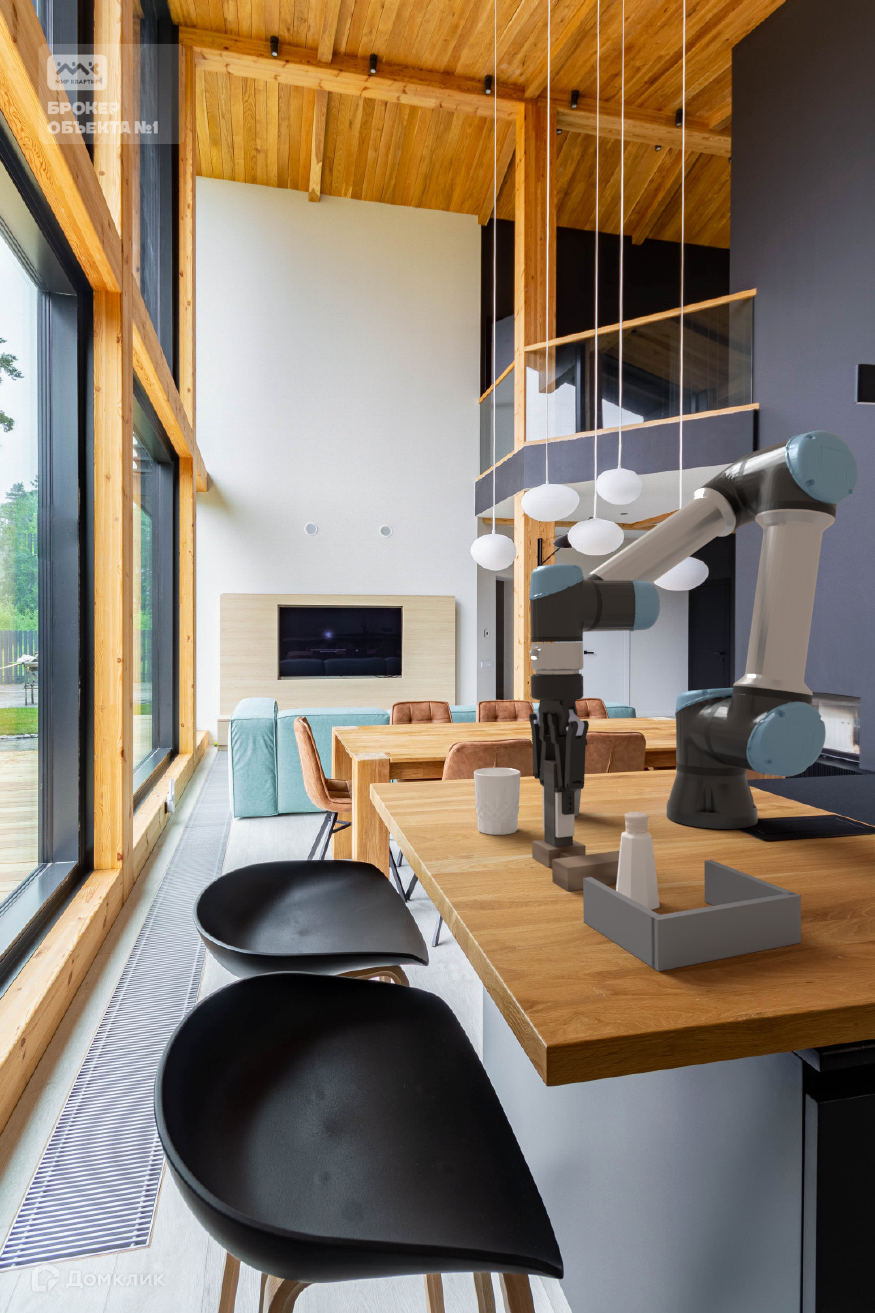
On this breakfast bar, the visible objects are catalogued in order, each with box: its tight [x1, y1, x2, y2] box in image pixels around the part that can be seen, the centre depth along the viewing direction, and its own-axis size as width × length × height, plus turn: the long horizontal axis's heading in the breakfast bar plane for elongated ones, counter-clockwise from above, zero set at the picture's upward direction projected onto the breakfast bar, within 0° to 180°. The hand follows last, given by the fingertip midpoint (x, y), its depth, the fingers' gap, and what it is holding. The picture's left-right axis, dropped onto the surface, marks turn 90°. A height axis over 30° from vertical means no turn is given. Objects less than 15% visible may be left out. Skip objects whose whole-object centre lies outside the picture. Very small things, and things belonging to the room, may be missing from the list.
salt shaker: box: [615, 811, 661, 911], centre depth 88 cm, size 5×5×11 cm
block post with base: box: [531, 760, 620, 892], centre depth 102 cm, size 11×14×14 cm
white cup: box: [473, 767, 521, 836], centre depth 124 cm, size 8×8×10 cm
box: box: [582, 859, 802, 972], centre depth 80 cm, size 18×14×5 cm
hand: (558, 832), depth 106 cm, fingers closed on block post with base, 3 cm apart
